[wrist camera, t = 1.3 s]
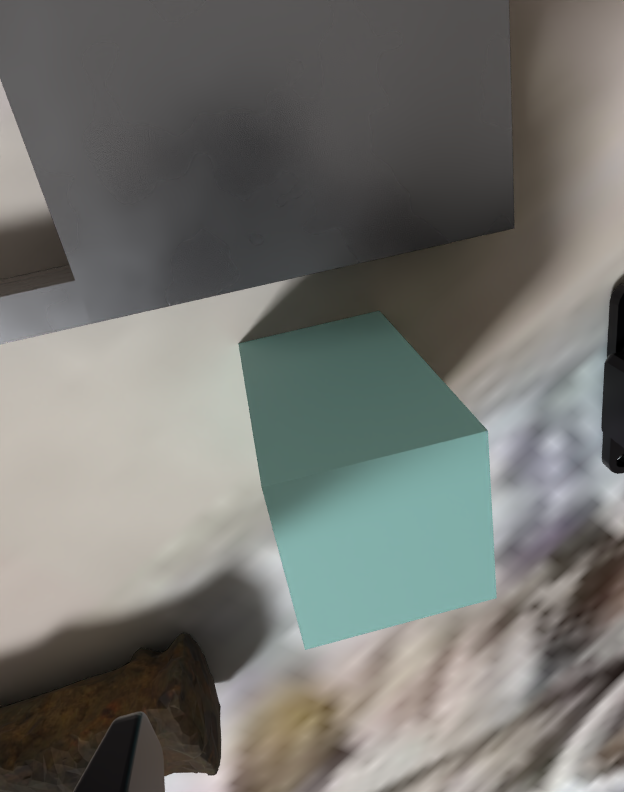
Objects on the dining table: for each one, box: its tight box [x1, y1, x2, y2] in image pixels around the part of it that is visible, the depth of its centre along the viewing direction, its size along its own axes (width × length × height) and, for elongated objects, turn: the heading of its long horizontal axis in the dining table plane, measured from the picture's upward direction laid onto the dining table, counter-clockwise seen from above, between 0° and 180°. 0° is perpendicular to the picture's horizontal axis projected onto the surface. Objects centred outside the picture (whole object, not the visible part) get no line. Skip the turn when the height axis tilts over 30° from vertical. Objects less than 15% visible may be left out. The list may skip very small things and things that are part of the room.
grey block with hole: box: [0, 0, 514, 344], centre depth 12 cm, size 20×8×2 cm, turn 101°
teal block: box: [238, 311, 496, 650], centre depth 14 cm, size 4×4×7 cm
